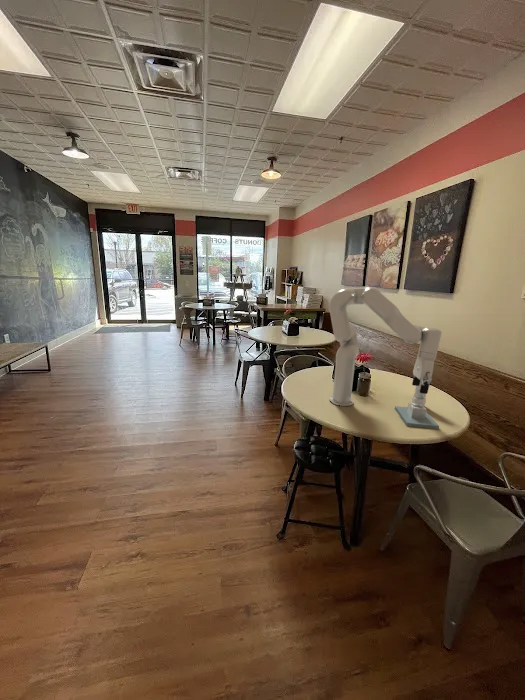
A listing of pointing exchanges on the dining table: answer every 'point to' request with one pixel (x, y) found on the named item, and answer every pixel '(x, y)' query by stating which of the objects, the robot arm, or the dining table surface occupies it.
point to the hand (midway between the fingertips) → (419, 389)
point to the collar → (416, 410)
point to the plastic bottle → (419, 395)
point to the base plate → (416, 419)
